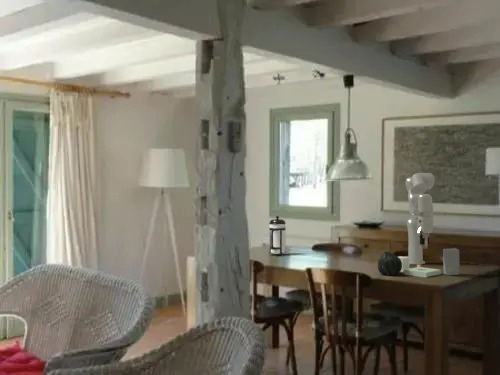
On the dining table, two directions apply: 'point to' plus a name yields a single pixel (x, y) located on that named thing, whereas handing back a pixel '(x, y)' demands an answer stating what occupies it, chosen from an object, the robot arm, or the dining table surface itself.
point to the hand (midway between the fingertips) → (424, 243)
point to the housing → (405, 263)
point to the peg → (425, 241)
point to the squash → (389, 264)
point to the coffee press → (277, 236)
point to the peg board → (422, 272)
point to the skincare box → (451, 261)
